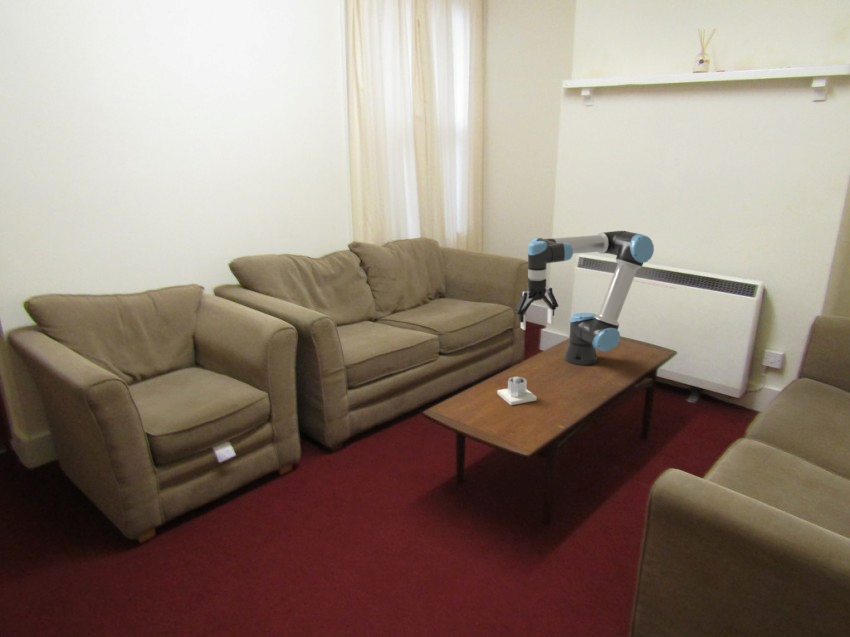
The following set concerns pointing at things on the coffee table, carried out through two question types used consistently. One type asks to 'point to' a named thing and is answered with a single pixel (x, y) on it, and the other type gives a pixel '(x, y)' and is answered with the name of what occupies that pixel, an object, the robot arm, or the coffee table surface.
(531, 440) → the coffee table surface
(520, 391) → the tube
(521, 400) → the post
